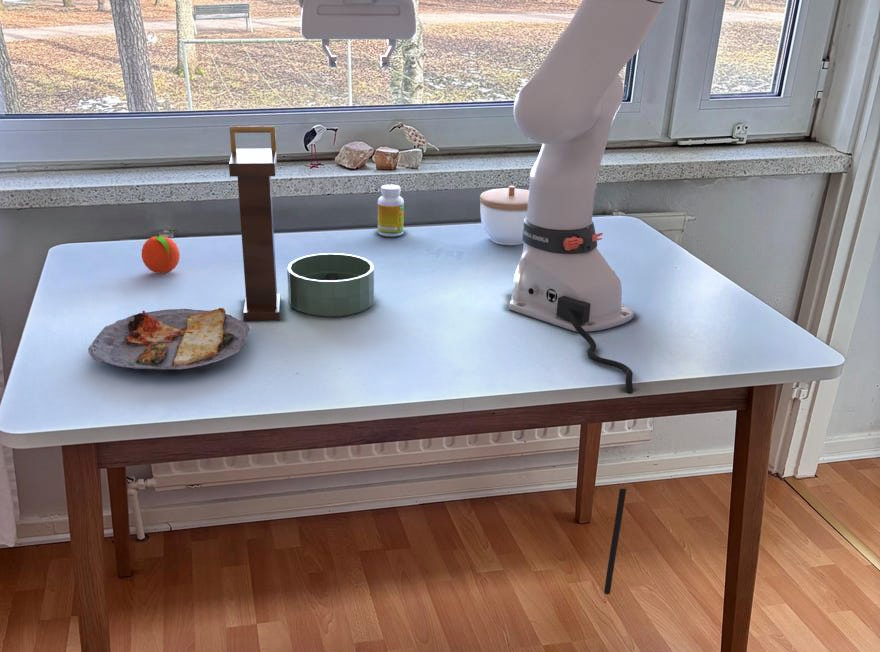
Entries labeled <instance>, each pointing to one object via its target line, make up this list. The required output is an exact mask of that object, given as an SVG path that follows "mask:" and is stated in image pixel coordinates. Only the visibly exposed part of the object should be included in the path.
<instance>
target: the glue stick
mask: <svg viewBox="0 0 880 652" xmlns="http://www.w3.org/2000/svg"><path fill="white" fill-rule="evenodd" d="M324 280H325V281H336V280H340V279H339V277H338V276H337V275H336V274H328V275H327V276H326V277H325V279H324Z"/></svg>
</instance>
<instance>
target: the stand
mask: <svg viewBox="0 0 880 652" xmlns="http://www.w3.org/2000/svg"><path fill="white" fill-rule="evenodd" d="M268 133H269V135H270V148H237V135H236V134H268ZM229 140H230V153H231V154H230V157H229V158H230V159H229V162H228V172H229V177H236V178H237V187H238V188H237V190H238V203H239V217H240V218H239V219H240V233H241V247H242V260H243V261H242V262H243V275H244V288H245V289H244V290H245V296H244V297H245V298H244V305H243V311H242V317H243V318H242V319H243V322H271V321H273V322H276V321H280V320H281V303H282V299H281V293H279V292H278V287H277V286H278V284H277V266H276V252H275V251H276V248H275V231H274V230H275V229H274V228H275V227H274V212H273V211H274V210H273V209H274V208H273V194H272V193H273V192H272V177H276V174H277V173H276V172H277V162H278V157H277V151H278V150H277V132H276V125H230V126H229Z"/></svg>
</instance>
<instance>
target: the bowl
mask: <svg viewBox="0 0 880 652" xmlns="http://www.w3.org/2000/svg"><path fill="white" fill-rule="evenodd" d="M286 274H287V275H286V276H287V294H288V296H287V297H288V298H287V299H288V303H289V305H290V307H292V308H294V309H295V310H296V311H299V312H302V313H304V314H307V315H311V316H317V317H326V318H328V317H329V318H331V317H335V318H336V317H345V316H351V315H354V314H355V315H356V314H358V313H360V312H363V311H365V310H367V309H370V307H371V306H372V305H374V302H375V265H374V264H373V262H372V261H370V260H368V259H367V258H365V257H362V256H359V255H355V254H347V253H340V252H339V253H335V252H333V253H331V252H329V253H315V254H310V255H309V254H308V255H305V256H301V257H298V258H296V259H294V260H292V261H291V262H289V263H288V265H287V269H286ZM328 274H336V275H337V276H338V277H339V279H340V280H336V281H325V280H324V279H325V277H326V276H327V275H328Z"/></svg>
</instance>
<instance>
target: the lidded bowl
mask: <svg viewBox="0 0 880 652" xmlns="http://www.w3.org/2000/svg"><path fill="white" fill-rule="evenodd" d="M528 195H529V189H523V188H516V186H515V185H509V186H508V187H503V188H491V189H488V190H485V191H483V192H482V193H480V194H479V202H480V206H479V207H480V208H479V210H480V211H479V213H480V214H479V215H480V222H481V225H482V226H481V227H482V229H483V231H484V233H486V235H487V236H488V237H489V238H490V241H491V242H492V243H494V244H497V245H500V246H501V245H502V246H520V245H524V241H523V239H522V237H523V231H522V230H523V226H524V219H525V218H526V217H527V208H528Z"/></svg>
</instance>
